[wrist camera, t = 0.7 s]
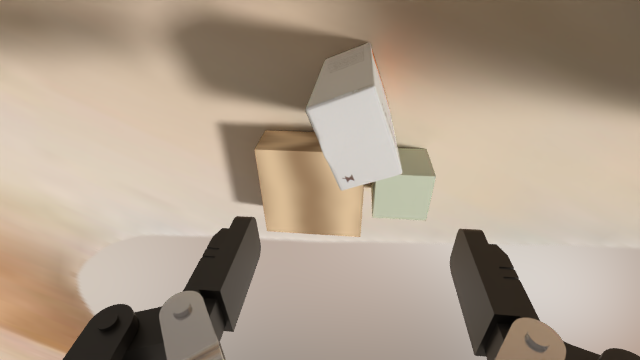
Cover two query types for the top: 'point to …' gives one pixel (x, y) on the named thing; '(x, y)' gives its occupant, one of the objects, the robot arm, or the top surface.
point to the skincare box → (354, 119)
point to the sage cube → (405, 188)
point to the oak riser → (304, 187)
